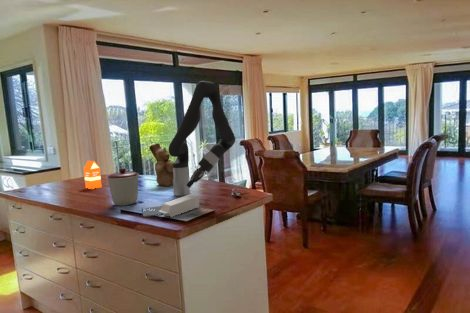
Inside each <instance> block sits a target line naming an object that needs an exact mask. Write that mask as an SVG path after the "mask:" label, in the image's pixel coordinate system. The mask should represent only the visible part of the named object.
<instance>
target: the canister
mask: <svg viewBox="0 0 470 313" xmlns="http://www.w3.org/2000/svg"><path fill="white" fill-rule="evenodd" d="M118 170H119V172H114V173H111V174H109V175H108V176H106V177H105V178H106V179H107V182H108V186H109V187H108V188H109V191H110V195H111V200H112V202H113V205H115V206H118V207H119V206H120V207H123V206H130V205H133V204H135V203H137V201H138V199H139V198H138V196H139V176H140V173H138V172H136V171H127V170H126V168H125V167H120V168H119V169H118Z"/></svg>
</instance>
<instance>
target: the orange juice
mask: <svg viewBox="0 0 470 313" xmlns="http://www.w3.org/2000/svg"><path fill="white" fill-rule="evenodd" d="M83 173H84V183H85V189H87V188H88V189H89V190H94V189H95V188H96V189H100V188H102V187H103V186H102V178H101V175H102V174H101V168H100V166H99V165H98V164H97V163H96V161H95V160H87V161H86V164H85V165H84V167H83Z"/></svg>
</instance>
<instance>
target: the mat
mask: <svg viewBox="0 0 470 313" xmlns="http://www.w3.org/2000/svg"><path fill="white" fill-rule="evenodd" d="M144 208H145V209H146V211H144V212H142V211H141V212H142V217H143V218H149V217H155V216H154V215H157V216H159V215H158V214H163V213H162V212H159V211H160V210H161V208H162V205H160V206H158V205H157V206H150V207H144ZM149 208H150V210H151V209H153V210H154V209H155V211H153V210H152V211H149V210H147V209H149Z"/></svg>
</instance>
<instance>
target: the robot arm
mask: <svg viewBox="0 0 470 313" xmlns="http://www.w3.org/2000/svg"><path fill="white" fill-rule="evenodd" d="M220 98H221V97H220V93H219V89H218V87H217V85H216V83H215V82H212V81H208V80H207V81H206V80H201V81H199V82H198V83H197V84H196V85H195V88H194V91H193V94H192V97H191V101H190V102H189V104H188V107H187V109H186V112H185V113H184V115H183V118H182V121H181V123H180V125H179V127H178V129H177V131H176V133H175V135H174V137H173V138H172V140H171V142H170V144H169V145H168V153H169V155H170V157H173V158H176V160H175V161H173V162H174V163H173V175H174V180H173V185H172V190H173V192H172V193H173V196H179V197H184V196H186V195H189V194H191V192H190V191H191V190H190V188H191V187H192V186H193V185H194V184H196V183H197V182H198V181H200V180H201V179H202V178H203V177H204V175H205V172H207V173H210V172H211V171H212V170H213V168H214V167H215V166H216V165H217V163H219V160H220V159H221V158H222V157H223V155H224V154H225V153H226V152H227V151H228V150H230V149H231V148H233V146H234V145H235V143H236V135H235V133H234V132H233V130H232V127H231V125H230V124H229V123H230V122H229V120H228V118H227V116H226V114H225V111H224V108H223V105H222V101H221V99H220ZM204 99H209V101H210V103H211V105H212V111H211V112H212V113H211V115H212V120H213V123H214V124H215V127H216V129H217V130H218V133H219V136H220V139H221V140H220V141H218V143H215V144H214V145H213V146H212V147H211V148H210V149H209V151H207V153H206V154H205V155H204V156H203V157H202V158H200V159H201V160H200V161H198V166H199V167H198V168H196V170H194V171H193V173H192V175H191V176H190V177H189V161H190V160H189V159H190V157H189V156H190V155H189V152H190V151H189V146H188V143H187V142H186V139H187V138H188V137H190V135H192V134H193V132H194V131H195V130H196V129H197V127H198V125H199V123H200V120H201V106H202V103H203V100H204ZM189 178H190V179H189Z"/></svg>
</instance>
